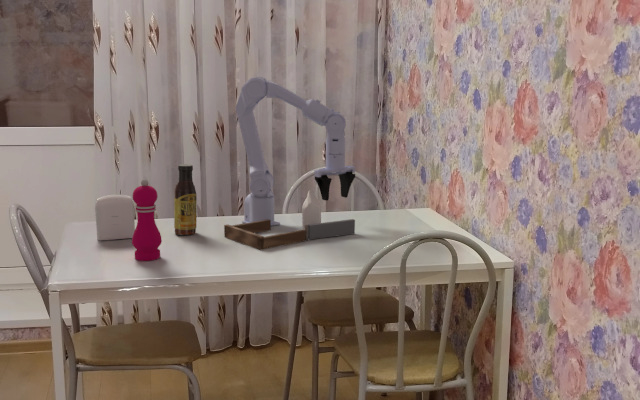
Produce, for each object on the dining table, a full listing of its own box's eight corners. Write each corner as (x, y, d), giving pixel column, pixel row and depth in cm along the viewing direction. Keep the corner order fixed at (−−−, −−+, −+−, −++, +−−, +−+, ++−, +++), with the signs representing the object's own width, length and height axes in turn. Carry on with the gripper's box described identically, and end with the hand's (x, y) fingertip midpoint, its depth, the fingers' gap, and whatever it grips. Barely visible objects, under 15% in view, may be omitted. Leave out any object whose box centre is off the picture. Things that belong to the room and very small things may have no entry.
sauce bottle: (181, 237, 197) (179, 167, 194) (170, 233, 202) (168, 164, 198) (201, 233, 202) (200, 165, 198) (190, 229, 206) (188, 162, 202)
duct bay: (224, 237, 198) (224, 222, 197) (272, 228, 209) (272, 214, 208) (260, 250, 185) (260, 234, 184) (309, 240, 196) (309, 225, 195)
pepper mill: (137, 253, 181) (134, 176, 177) (165, 253, 181) (162, 177, 177) (129, 261, 174) (125, 181, 170) (158, 261, 174) (155, 182, 170)
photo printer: (97, 241, 192) (94, 197, 190) (96, 238, 196) (94, 194, 194) (135, 239, 195) (133, 195, 193) (134, 235, 199) (133, 192, 197)
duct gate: (309, 239, 196) (310, 225, 195) (307, 238, 197) (307, 224, 196) (354, 233, 203) (354, 219, 202) (352, 232, 204) (352, 219, 203)
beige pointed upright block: (319, 192, 201) (300, 191, 203) (318, 233, 204) (299, 232, 205) (323, 188, 207) (304, 188, 208) (322, 228, 210) (304, 227, 211)
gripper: (325, 156, 201) (325, 203, 204) (362, 152, 210) (361, 197, 213) (309, 154, 206) (309, 199, 209) (346, 150, 215) (346, 194, 218)
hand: (334, 198), depth 211 cm, fingers open, 7 cm apart
